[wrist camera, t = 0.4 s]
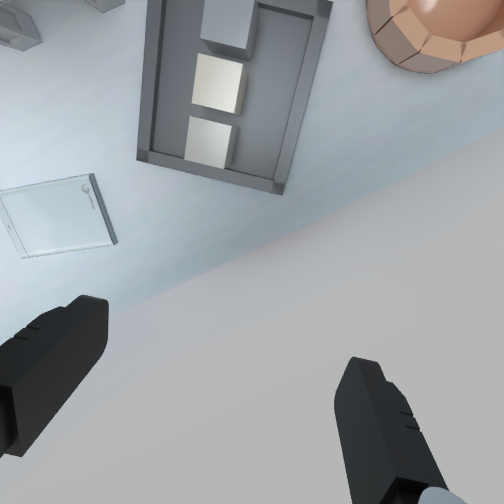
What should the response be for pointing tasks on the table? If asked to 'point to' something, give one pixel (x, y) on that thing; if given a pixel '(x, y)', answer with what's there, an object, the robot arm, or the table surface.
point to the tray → (256, 93)
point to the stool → (32, 24)
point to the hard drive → (56, 217)
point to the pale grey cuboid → (210, 142)
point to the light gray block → (230, 27)
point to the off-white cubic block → (219, 84)
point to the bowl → (436, 31)
